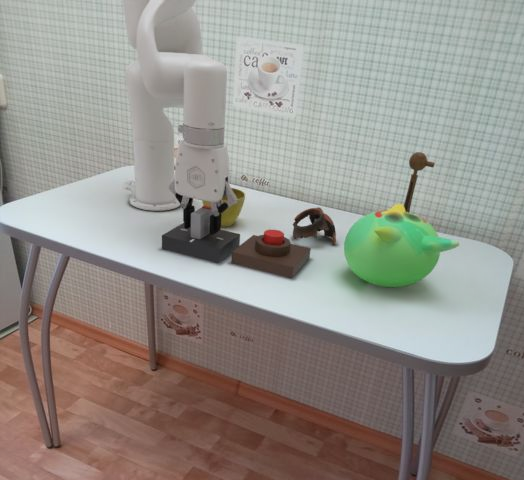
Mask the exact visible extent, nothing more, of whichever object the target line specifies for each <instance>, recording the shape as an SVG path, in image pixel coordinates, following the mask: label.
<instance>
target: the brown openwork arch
mask: <svg viewBox="0 0 524 480" xmlns="http://www.w3.org/2000/svg"><path fill="white" fill-rule="evenodd" d="M305 218H308V219H309V221H310V223H311V224H307V225H304V226H302V225H298V224H299V223H300V222H301V221H302V220H304V219H305ZM292 226H293V229H292V230H293V231H292V237H293V239H294V240H295V239H296V238H299V239H303V238H304V239H306V238H311V237H313V238H316V239H318V233H319V232H321V231H323V236H324V237H325V238H330V239H332V244H333V246H335V245H336V244H337V232H336V228H335V227H336V226H335V224H334V221H333V219H332V218H331V217H330V215H328V214H327V213H325V212H324V211H323V209H322V208H321V207H312V208H307V209H305V210H303V211H302V212H299V214H297V215H296V216H295V217H294V222H293V223H292Z"/></svg>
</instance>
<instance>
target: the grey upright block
mask: <svg viewBox="0 0 524 480" xmlns="http://www.w3.org/2000/svg"><path fill="white" fill-rule="evenodd" d="M212 214H213V212H212V208H211V207H209V206H205V205H202V206H201V207H200V208H198V209H195V211H194V212H193V213H191V237H192V238H196V239H202V238H203V237H205V236H206V235H208V234H209V233H210V216H211V215H212Z"/></svg>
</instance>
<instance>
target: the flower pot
mask: <svg viewBox="0 0 524 480" xmlns="http://www.w3.org/2000/svg"><path fill="white" fill-rule="evenodd" d="M231 189H232V190H233V192H234V194H235V195H236V197H237V199H238V201H237V202H236V203H235V204H233V205H232V206H230V207H229V208H227V209H226V210H225V211H224V212H223V213H222V214H221V228H227V227H228V228H229V227H231V226H232V225H234V224H235V222H236V221H237V219H238V217H239V215H240V214H241V212H242V209H243V206H244V203H245V199H246V193H245V192H244V190H241V189H239V188H238V189H237V188H235V187H231ZM226 201H227V197H222V202H223V203H224V202H226ZM201 202H202V206H204V205H205V206H209V207H211V203H210V202H208V201H203V200H201Z"/></svg>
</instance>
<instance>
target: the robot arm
mask: <svg viewBox="0 0 524 480" xmlns="http://www.w3.org/2000/svg"><path fill="white" fill-rule="evenodd" d="M196 2H197V0H122V4H123V12H124V14H123V15H124V21H125V29H126V34H127V39H128V42H129V45H130V46H131V47H132V49H134V50H136V53H137V57H138V59H136V60H133V61H131V62H130V63H129V64H128V65H127V67H126V70H125V76H124V77H125V86H126V91H127V97H128V102H129V109H130V116H131V126H132V128H131V131H132V146H133V147H132V149H133V169H134V170H133V171H134V180H130V179H125V180H124V184H123V185H122V189H123V190H125V191H130V192H131V194H130V196H129V204H130V205H131V206H133V207H134V208H137V209H139V210H144V211H152V212H153V211H155V212H161V211H164V212H165V211H169V210H174V209H177V208H179V207H180V208H181V209H182V221H183V222H182V223H184V228H186V229H188V228H190V227H191V213H193V212H194V211H196V208H195V205H193V204H194V200H198V201H199V200H200V201H202V200H203V201H208V202H210V203H211V208H212V212H213V214H212V215H211V216H210V234H211V235H214V234H215V233H217V232H218V231H219V230H220V229H221V228H222V227H221V214H222V213H223V212H224V211H225V210H226V209H227V208H229V207H230V206H232V205H233V204H235V203H236V202H237V201H238V199H237V197H236V195H235V194H234V192H233V190H232V189H231V188H232V187H231V185H230V184H231V183H230V180H231V179H230V178H231V177H230V160H229V151H228V146H227V145H226V144H225V130H226V129H225V127H226V103H227V102H226V101H227V83H228V82H227V81H228V73H227V72H228V71H227V67H226V65H225V64H224V63H223V62H221V61H219V60H218V61H217V60H214V59H213V57H210V56H209V55H206V54H203V45H202V33H201V26H200V21H199V18H198V16H197V14H196V12H195V11H194V9H192V8H193V6H194V5H195V4H196ZM169 108H182V109H183V123H182V124H179V125H178V126H177V132H178V133H180V134H182V140H180V141H179V142H178V146H177V152H176V159H175V129H174V126H173V124H172V122H171V120H170V119H169V117H168V116H167V115H166V114H165V112H164V109H169ZM222 197H227V201H226V202H224V203H223V202H222ZM203 201H202V202H203Z"/></svg>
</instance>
